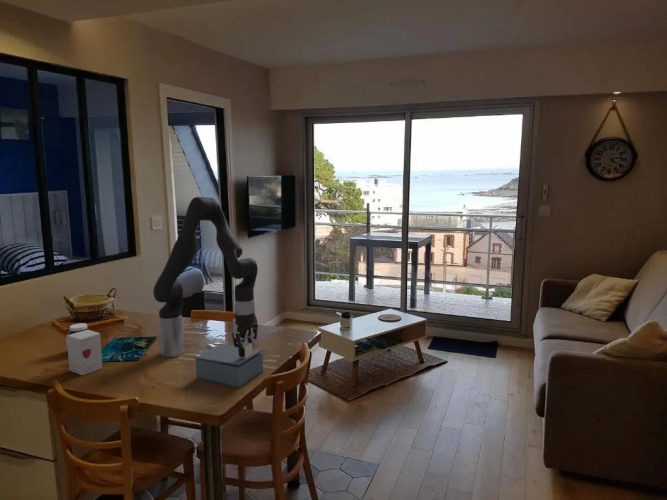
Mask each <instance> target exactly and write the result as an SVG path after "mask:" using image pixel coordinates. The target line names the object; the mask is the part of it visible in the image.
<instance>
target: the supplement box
mask: <svg viewBox="0 0 667 500" xmlns="http://www.w3.org/2000/svg"><path fill="white" fill-rule="evenodd" d="M66 335H67V334H66ZM67 344H68V349H67V355H68V368H69V369H68V370H69V371H70V372H72V373H75V374H78V375H80V376H84V375H88V374H89V373H93V372H95V371H98V370H101V369H103V357H102V343H101V333H100V332H98V331H94V330H90V329H89V330H85V331H81V332H77V333H74V334H70V335H67Z"/></svg>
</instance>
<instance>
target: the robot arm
mask: <svg viewBox="0 0 667 500" xmlns="http://www.w3.org/2000/svg"><path fill="white" fill-rule="evenodd" d="M187 206H188V207H187V210H186V213H185V215H184V219H183V222H182V225H181V228H180V231H179V234H178V237H177V238H176V241H175V242H174V245H173V248H172V250H171V251H170V252H171V253H170V254H169V258H168V259H167V262H166V264H165V266H164V268H163V270H162V272H161V274H160V275H159V277H158V278H157V280H156V282H155V284H154V286H153V291H152V292H153V294H152V295H153V297H154V300H156V301H157V302H158V303H165V304H164V305H163V306H162V307H161V308H160V309H159V311H158V317H159V318H158V319H159V332H158V350H159V354H160V355H161V356H162V357H165V358H174V357H178V356H181V355H182V354H183V353H184V337H183V333H184V332H183V320H182V319H183V318H182V311H183V309H184V290H183V284H182V282H181V281H180V279H178V277H180V276H181V274H183V272H185V270H187V269H188V268H189V266H190V265H191V264H192V262H193V261H194V259H195V257H196V254H197V252H198V249H199V244H198V238H197V236H196V235H197V234H196V232H197V228H198V225H199V224H200V222H201V221H208V222H209V221H210V222H211V223H212V225H214V228H215V229H216V235H215V237H216V239H215V240H216V244H217V246H218V248H219V250H220V252H221V253H222V255H223V256H224V258H225V262H226V265H227V269H228V272H229V274H230V276H231V277H232V278H234V279H235V280H241V279H242V280H241V282H239V283H238V284H236V285H235V286H234V319H235V324H236V325H237V326H238V328H237V332H236V333H233V332H232V333H231V337H232V342H233V345H234V347H238V351H239V356H240V357H244V356H245V347H244V345H245V342H246V340H247V341H248V342H250V343H252V345H253V346H254V342H255V340H257V338H258V329H259V324H258V323H256V307H255V296H254V294H255V291H254V287H255V285H256V280H257V276H258V269H259V268H258V264H257V262H256V260H255V259H254V258H252V257H247V258H241V259H239V258H240V257H241V256H242V255H243V248H242V247H241V245H240V243H239V242H238V241H237V239H236V237H235V235H234V234H233V233H232V231H231V228H230V226H229V224H228V221H227V219H226V216H225V214H224V211H223V210H222V208H221V205H220V203H219V202H218V200H217V199H215V198H213V197H208V196H207V197H205V196H195V197H193V198H192V199H191V200H190V201H189V204H188V205H187ZM240 337H241V338H244V339H241V338H240ZM241 341H242V344H241ZM237 343H238V344H237Z"/></svg>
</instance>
